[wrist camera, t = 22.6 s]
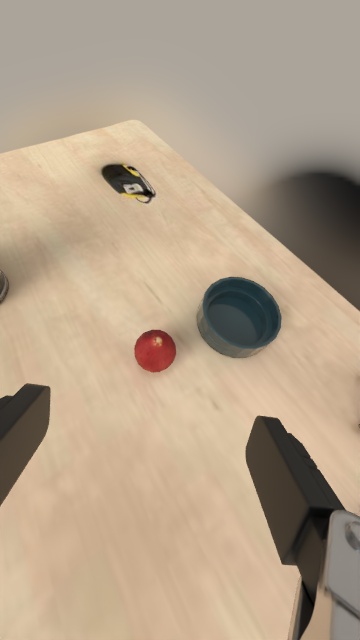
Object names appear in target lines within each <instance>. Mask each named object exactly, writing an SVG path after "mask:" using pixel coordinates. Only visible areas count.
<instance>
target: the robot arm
mask: <svg viewBox="0 0 360 640" xmlns="http://www.w3.org/2000/svg"><path fill="white" fill-rule="evenodd" d="M7 291H8V281H7V278H6V276H5V275H4V274H3V272H2V271H1V270H0V302H1V301H2V300H3V299H4V297H5V295H6V293H7ZM49 415H50V387H49V386H43V385H36V384H28V383H27V384H25V385H24V386H23V387H22V388H21V389H20V390H19V391H18V392H17V393H16V394H15V395H14V396H5V397H3V398H1V399H0V506H1V504H2V503H3V501H4V500H5V498H6V496H7V495H8V493H9V492H10V490H11V489H12V487H13V485H14V484H15V482H16V481H17V479H18V478H19V476H20V475H21V473H22V471H23V470H24V468H25V467H26V465H27V464H28V462H29V461H30V459H31V457H32V456H33V454H34V453H35V451H36V450H37V448H38V446H39V445H40V443H41V442H42V440H43V439H44V437H45V434H46V432H47V429H48V425H49ZM246 462H247V466H248V468H249V471H250V474H251V477H252V480H253V483H254V486H255V488H256V491H257V494H258V497H259V500H260V503H261V506H262V508H263V511H264V514H265V517H266V520H267V523H268V526H269V528H270V531H271V534H272V537H273V540H274V543H275V545H276V548H277V551H278V554H279V557H280V560H281V563H282V564H283V565H295V566H297V567H298V569H299V572H300V574H301V576H300V578H299V580H298V583H297V589H296V594H295V600H294V606H293V611H292V617H291V623H290V628H289V634H288V640H360V517H359V516H357V515H355V514H353V513H351V512H348V511H346V510H345V508H344V507H343V505H342V504H341V502H340V501H339V499H338V498H337V496H336V494H335V493H334V491H333V490H332V488H331V487H330V485H329V484H328V482H327V481H326V479H325V478H324V476H323V475H322V473H321V472H320V470H318V469H317V466H316V464H315V463H314V461H313V460H312V459H311V458H310V455H309V454H308V452H307V450H306V449H305V447H304V446H303V444H302V443H300V442H299V441H298V440H297V439H296V438H295V437H294V436H293V435H292V434H291V433H287V431H286V430H285V428H284V426H283V425H282V423H281V422H280V420H279V419H278V418H273V417H266V416H257V417H256V419H255V421H254V424H253V427H252V430H251V433H250V437H249V440H248V443H247V446H246Z"/></svg>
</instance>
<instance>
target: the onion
mask: <svg viewBox="0 0 360 640" xmlns="http://www.w3.org/2000/svg"><path fill="white" fill-rule="evenodd" d="M175 355H176V346H175V343H174V341H173V339H172V337H171V336H169V335H168V334H167V333H166V332H163V331H161V330H150V331H148V332H145V333H143V334H142V335H141V336H140V337H139V338H138V340H137V342H136V345H135V358H136V360H137V362H138V364H139V365H140V366H141V367H142V368H143V369H145V370H147V371H150V372H160V371H162V370H164V369H166V368H168V367H169V366H170V365H171V364H172V362H173V361H174V358H175Z"/></svg>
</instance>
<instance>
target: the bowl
mask: <svg viewBox="0 0 360 640" xmlns="http://www.w3.org/2000/svg"><path fill="white" fill-rule="evenodd" d="M197 324H198V328H199V330H200V333H201V335H202V337H203V338H204V340H205V341H206V342H207V343H208V344H209V345H210V346H211V347H212V348H213V349H215V350H216V351H218V352H219V353H221V354H224V355H227V356H230V357H234V358H246V357H249V356H252V355H255V354H257V353H258V352H259V351H260V350H262V349H263V348H264V347H266V346H267V345H268V344H269V343H270V342H272V341H273V340H274V339H275V338H276V337H277V335H278V332H279V330H280V328H281V314H280V310H279V306H278V305H277V303H276V301H275V300H274V298H273V296H272V295H271V294H270V293H269V292H268V291H267V290H266V289H265V288H264V287H262V286H260V285H259V284H257V283H255V282H254V281H251V280H248V279H245V278H240V277H228V278H224V279H220V280H218V281H217V282H215V283H213V284H212V285H211V286H210V287H209V288H208V290H207V291H206V292H205V294H204V297H203V299H202V301H201V303H200V305H199V309H198V312H197Z"/></svg>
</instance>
